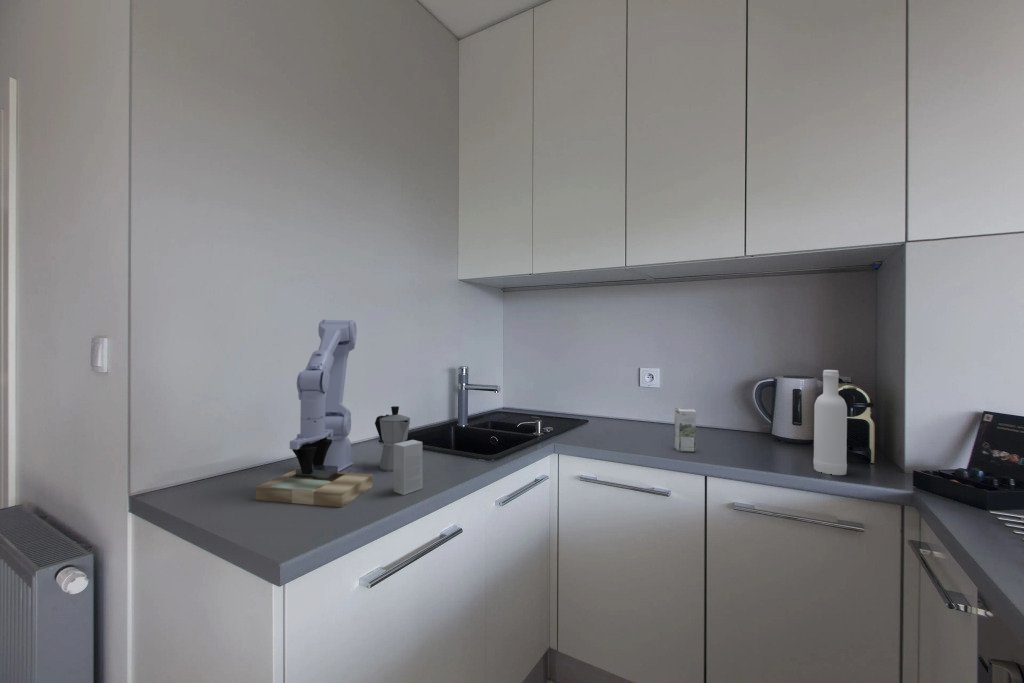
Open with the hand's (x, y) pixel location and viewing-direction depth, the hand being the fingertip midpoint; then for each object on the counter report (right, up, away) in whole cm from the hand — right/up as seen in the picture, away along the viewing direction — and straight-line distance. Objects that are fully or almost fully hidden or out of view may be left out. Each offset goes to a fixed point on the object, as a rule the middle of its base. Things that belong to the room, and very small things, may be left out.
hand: (312, 470), depth 107 cm
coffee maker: (+15, -5, +19) cm, 24 cm away
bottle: (+145, -6, +18) cm, 146 cm away
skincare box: (+25, -5, -1) cm, 25 cm away
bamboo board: (+3, -4, -4) cm, 6 cm away
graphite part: (+1, -1, 0) cm, 2 cm away
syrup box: (+111, -6, +41) cm, 119 cm away
